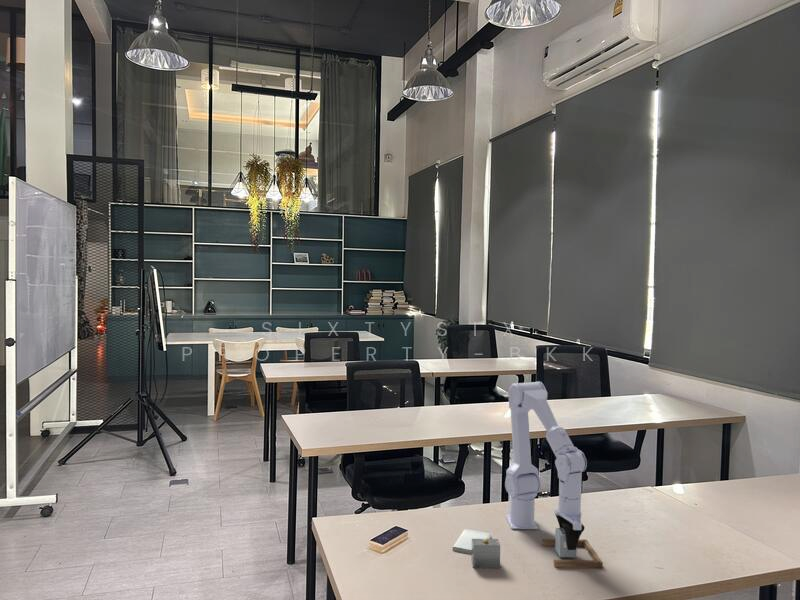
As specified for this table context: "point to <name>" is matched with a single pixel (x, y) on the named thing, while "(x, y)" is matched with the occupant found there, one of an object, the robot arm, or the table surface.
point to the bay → (577, 563)
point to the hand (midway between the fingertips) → (568, 544)
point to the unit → (485, 553)
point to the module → (563, 544)
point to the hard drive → (468, 540)
